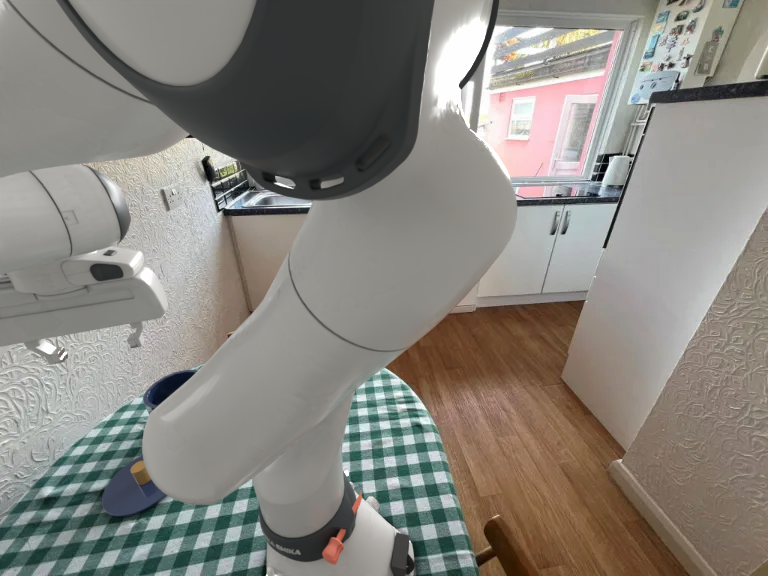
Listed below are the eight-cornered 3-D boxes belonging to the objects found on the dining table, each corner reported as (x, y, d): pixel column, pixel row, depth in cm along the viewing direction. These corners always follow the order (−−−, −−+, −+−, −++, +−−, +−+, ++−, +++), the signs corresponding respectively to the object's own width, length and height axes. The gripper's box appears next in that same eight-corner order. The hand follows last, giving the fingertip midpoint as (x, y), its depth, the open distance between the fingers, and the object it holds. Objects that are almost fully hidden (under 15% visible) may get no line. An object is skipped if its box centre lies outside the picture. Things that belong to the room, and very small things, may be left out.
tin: (226, 409, 74) (217, 378, 70) (179, 448, 65) (165, 415, 61) (194, 394, 79) (183, 364, 75) (146, 429, 69) (131, 397, 65)
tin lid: (200, 467, 61) (193, 451, 59) (129, 533, 51) (119, 517, 49) (160, 443, 66) (153, 427, 64) (89, 499, 56) (77, 483, 54)
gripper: (-77, 291, 34) (-8, 387, 40) (144, 263, 42) (175, 348, 48) (-37, 271, 39) (19, 358, 46) (154, 250, 47) (180, 327, 53)
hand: (100, 353), depth 47 cm, fingers open, 8 cm apart
